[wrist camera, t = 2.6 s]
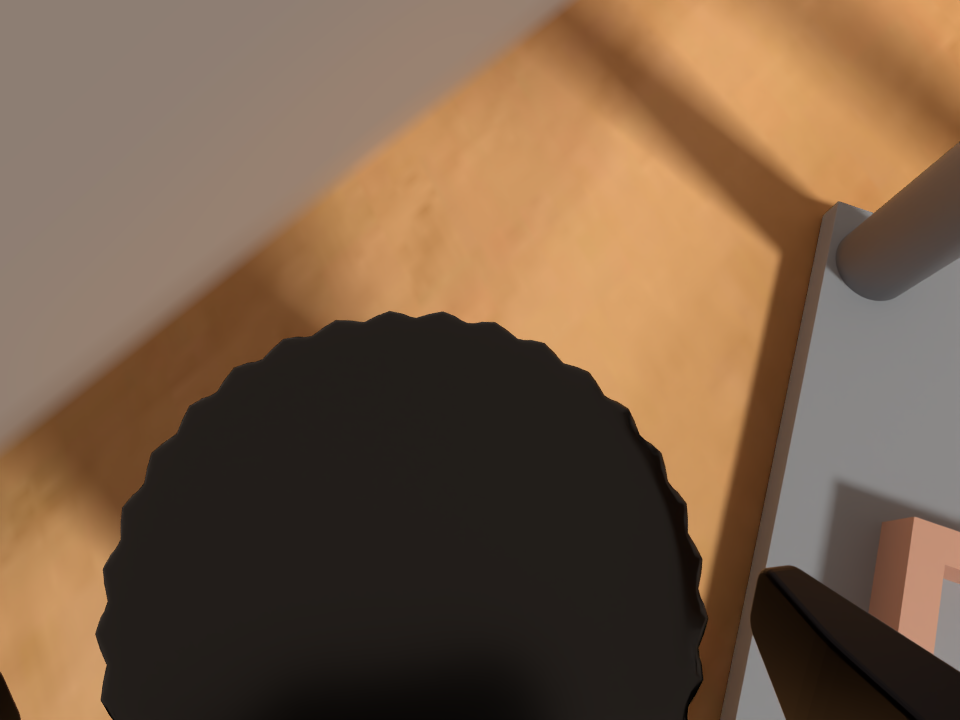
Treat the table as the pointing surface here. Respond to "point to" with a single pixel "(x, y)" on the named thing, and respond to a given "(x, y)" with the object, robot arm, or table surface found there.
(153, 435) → the table surface
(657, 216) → the table surface
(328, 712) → the supplement bottle
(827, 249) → the dock
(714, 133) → the table surface
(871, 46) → the table surface
